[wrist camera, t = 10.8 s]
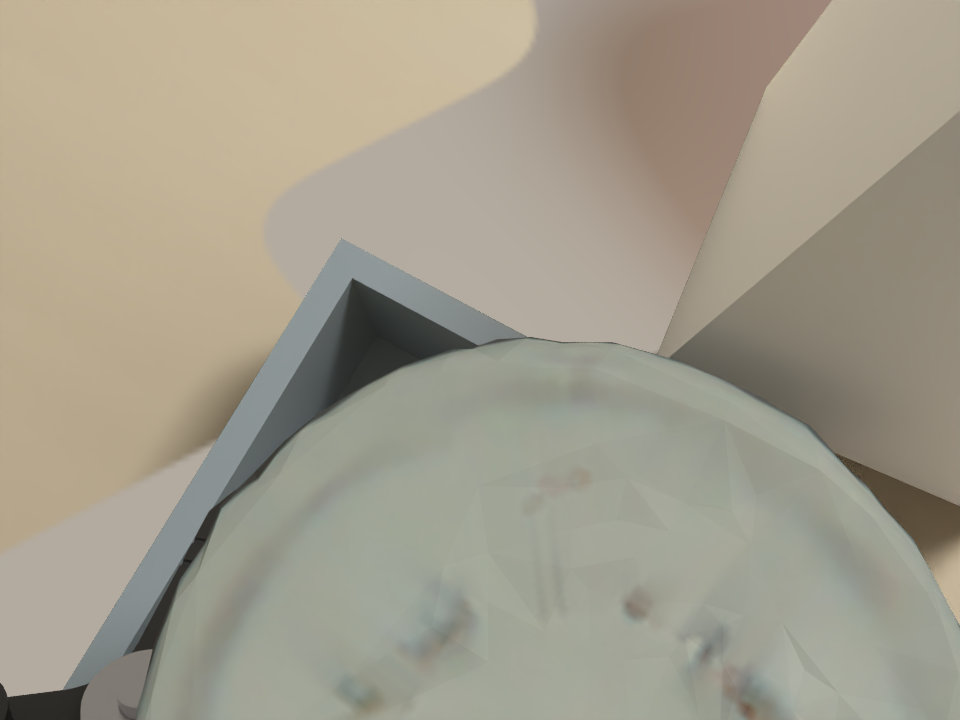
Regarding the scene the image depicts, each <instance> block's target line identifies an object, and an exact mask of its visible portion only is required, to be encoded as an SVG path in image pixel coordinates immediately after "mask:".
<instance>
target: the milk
mask: <svg viewBox="0 0 960 720" xmlns="http://www.w3.org/2000/svg"><path fill="white" fill-rule="evenodd" d="M657 355H660V356H664V357H667V358H671V359H674V360H678V361H681V362H683V363H686V364H688V365H690V366H693V367H695V368H697V369H700V370H702V371H704V372H707V373H709V374H711V375H713V376H716V377H718V378H720V379H723V380H725V381H727V382H729V383H732V384H734V385H736V386H738V387H740V388H743V389H745V390H747V391H749V392H752V393H754V394H756V395H758V396H759V397H761V398H762V399H764V400H766V401H767V402H769V403H771V404H772V405H774V406H776V407H777V408H779V409H780V410H782V411H784V412H786V413H788V414H790V415H791V416H793V417H795V418H797V419H799V420H800V421H802V422H804V423H806V424H808V425H810V426H811V427H812V428H813V429H814V431H815V432H816V433H817V434H818V435H819V436H820V438H821V439H822V440H823V441H824V442H825V443H826V444H827V446H828V447H829V448H830V449H831V450H832V451H833V452H834V453H836V454H839V455H841V456H843V457H846V458H848V459H850V460H853V461H855V462H857V463H860V464H862V465H864V466H867V467H869V468H871V469H874V470H876V471H879V472H881V473H883V474H886V475H888V476H890V477H893V478H895V479H897V480H900V481H902V482H904V483H907V484H909V485H911V486H914V487H916V488H918V489H921V490H923V491H925V492H928V493H930V494H932V495H935V496H937V497H939V498H942V499H944V500H946V501H949V502H951V503H953V504H956V505H958V506H960V0H832V1H831V3H830V4H829V5H828V7H827V8H826V10H825V11H824V12H823V13H822V15H821V16H820V17H819V19H818V20H817V21H816V23H815V24H814V25H813V27H812V28H811V29H810V31H809V32H808V33H807V35H806V36H805V37H804V39H803V40H802V41H801V42H800V44H799V45H798V46H797V48H796V49H795V50H794V52H793V53H792V54H791V56H790V57H789V58H788V60H787V61H786V62H785V64H784V65H783V66H782V68H781V69H780V70H779V72H778V73H777V74H776V76H775V77H774V78H773V80H772V81H771V82H770V83H769V85H768V86H767V87H766V89H765V91H764V94H763V96H762V99H761V101H760V104H759V106H758V109H757V111H756V113H755V116H754V118H753V121H752V123H751V126H750V128H749V131H748V133H747V136H746V138H745V140H744V143H743V145H742V148H741V150H740V153H739V155H738V158H737V160H736V163H735V165H734V167H733V170H732V172H731V175H730V177H729V180H728V182H727V185H726V187H725V190H724V192H723V195H722V197H721V200H720V202H719V204H718V207H717V209H716V212H715V214H714V217H713V219H712V222H711V224H710V226H709V229H708V231H707V234H706V236H705V239H704V241H703V244H702V246H701V248H700V251H699V253H698V256H697V259H696V261H695V263H694V266H693V268H692V271H691V273H690V275H689V278H688V280H687V283H686V285H685V288H684V290H683V293H682V295H681V298H680V300H679V303H678V305H677V307H676V310H675V313H674V315H673V317H672V320H671V322H670V325H669V327H668V329H667V332H666V334H665V337H664V339H663V342H662V344H661V347H660V349H659V352H658V354H657Z"/></svg>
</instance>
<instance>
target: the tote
mask: <svg viewBox="0 0 960 720" xmlns="http://www.w3.org/2000/svg"><path fill="white" fill-rule="evenodd" d="M524 337H526V336H524V335H523V334H521V333H519V332H517V331H515V330H513V329H511V328H509V327H507V326H505V325H504V324H502V323H500V322H498V321H496V320H494V319H492V318H491V317H489V316H487V315H485V314H483V313H481V312H479V311H477V310H475V309H474V308H472V307H470V306H468V305H466V304H464V303H462V302H460V301H459V300H457V299H455V298H453V297H451V296H449V295H447V294H445V293H443V292H441V291H440V290H438V289H436V288H434V287H432V286H430V285H428V284H426V283H425V282H423V281H421V280H419V279H417V278H415V277H413V276H411V275H409V274H408V273H406V272H404V271H402V270H400V269H398V268H396V267H394V266H393V265H390V264H389V263H387V262H385V261H383V260H381V259H379V258H378V257H376V256H374V255H372V254H370V253H368V252H366V251H364V250H362V249H361V248H359V247H357V246H355V245H353V244H351V243H349V242H347V241H345V240H344V239H342V238H341V240H340V242H339V243H338V245H337V246H336V248H335V250H334V251H333V253H332V255H331V256H330V258H329V259H328V261H327V263H326V265H325V266H324V268H323V269H322V271H321V272H320V274H319V276H318V277H317V279H316V281H315V282H314V284H313V285H312V287H311V289H310V290H309V292H308V293H307V295H306V297H305V298H304V300H303V302H302V303H301V305H300V306H299V308H298V310H297V311H296V313H295V315H294V316H293V318H292V319H291V321H290V323H289V324H288V326H287V327H286V329H285V331H284V332H283V334H282V336H281V337H280V339H279V340H278V342H277V344H276V345H275V347H274V349H273V350H272V352H271V353H270V355H269V357H268V358H267V360H266V361H265V363H264V365H263V366H262V368H261V370H260V371H259V373H258V374H257V376H256V378H255V379H254V381H253V383H252V384H251V386H250V387H249V389H248V391H247V392H246V394H245V396H244V397H243V399H242V400H241V402H240V404H239V405H238V407H237V408H236V410H235V412H234V413H233V415H232V417H231V418H230V420H229V421H228V423H227V425H226V426H225V428H224V430H223V431H222V433H221V434H220V436H219V438H218V439H217V441H216V442H215V444H214V446H213V447H212V449H211V451H210V452H209V454H208V455H207V457H206V459H205V460H204V462H203V464H202V465H201V467H200V468H199V470H198V472H197V473H196V475H195V477H194V478H193V480H192V481H191V483H190V485H189V486H188V488H187V490H186V491H185V493H184V494H183V496H182V498H181V499H180V501H179V503H178V504H177V506H176V507H175V509H174V511H173V512H172V514H171V515H170V517H169V519H168V520H167V522H166V523H165V525H164V527H163V528H162V530H161V532H160V533H159V535H158V536H157V538H156V540H155V542H154V543H153V545H152V546H151V548H150V549H149V551H148V553H147V554H146V556H145V558H144V559H143V561H142V563H141V564H140V566H139V567H138V569H137V570H136V572H135V574H134V576H133V577H132V579H131V580H130V582H129V583H128V585H127V587H126V588H125V590H124V592H123V593H122V595H121V596H120V598H119V600H118V601H117V603H116V604H115V606H114V608H113V609H112V611H111V613H110V614H109V616H108V617H107V619H106V621H105V622H104V624H103V626H102V627H101V629H100V630H99V632H98V634H97V635H96V637H95V638H94V640H93V642H92V644H91V645H90V647H89V648H88V650H87V652H86V653H85V655H84V657H83V658H82V660H81V661H80V663H79V664H78V666H77V668H76V670H75V671H74V673H73V674H72V676H71V678H70V679H69V681H68V682H67V684H66V686H65V687H64V689H63V690H66V689H71V688H76V687H79V686H82V685H86V684H88V683H90V682H91V680H92V679H93V678H94V677H95V675H97V674H98V673H99V672H100V671H101V670H102V669H103V668H104V667H106V666H107V665H108V664H110V663H111V662H113V661H115V660H116V659H118V658H120V657H123V656H125V655H127V654H130V653H132V652H133V650H134V648H135V647H136V645H137V644H138V642H139V640H140V638H141V636H142V635H143V633H144V631H145V629H146V627H147V625H148V623H149V622H150V620H151V618H152V616H153V614H154V612H155V610H156V609H157V607H158V605H159V603H160V601H161V599H162V597H163V596H164V594H165V592H166V590H167V588H168V586H169V584H170V582H171V581H172V579H173V577H174V575H175V573H176V571H177V569H178V568H179V566H180V565H182V563H183V558H184V556H185V555H186V553H187V551H188V549H189V547H190V545H191V543H194V540H195V536H196V534H197V532H198V530H199V529H200V527H201V525H202V523H203V521H204V519H205V517H206V516H207V514H208V512H209V511H210V510H211V509H212V508H213V507H214V506H216V505H217V504H218V503H219V502H221V501H222V500H223V499H224V498H226V497H227V496H228V495H229V494H231V493H232V492H233V491H234V490H237V489H238V488H239V487H240V486H241V485H242V484H243V483H244V482H245V481H246V480H247V479H248V478H249V477H250V476H251V475H252V474H253V473H254V472H255V471H256V470H257V469H258V468H259V467H260V466H261V465H262V464H263V463H264V462H265V461H266V460H267V459H268V458H269V457H270V456H271V454H272V453H273V452H274V451H275V450H276V449H277V448H278V447H279V446H280V445H281V444H282V443H283V442H284V441H285V440H286V439H287V438H289V437H290V436H291V435H292V434H294V433H295V432H296V431H297V430H298V429H300V428H301V427H302V426H303V425H305V424H306V423H307V422H308V421H309V420H311V419H312V418H313V417H314V416H316V415H317V414H318V413H320V412H321V411H323V410H325V409H326V408H328V407H330V406H331V405H333V404H335V403H336V402H338V401H340V400H341V399H343V398H345V397H346V396H348V395H350V394H351V393H353V392H355V391H356V390H358V389H360V388H362V387H363V386H365V385H367V384H369V383H371V382H373V381H375V380H377V379H379V378H381V377H383V376H384V375H386V374H388V373H390V372H392V371H394V370H396V369H398V368H400V367H402V366H405V365H408V364H411V363H414V362H417V361H420V360H423V359H425V358H428V357H431V356H434V355H437V354H440V353H443V352H446V351H449V350H452V349H469V348H472V347H475V346H478V345H481V344H484V343H487V342H490V341H493V340H496V339H509V338H524Z"/></svg>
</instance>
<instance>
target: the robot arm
mask: <svg viewBox="0 0 960 720" xmlns="http://www.w3.org/2000/svg"><path fill="white" fill-rule="evenodd" d="M235 491H236V490H234V491H233V492H232V493H231V494H233V493H234V492H235ZM231 494H229V495H228V496H227V497H226V498H224V499H223V500H222V501H221V502H219V503H218V504H217V505H216V506H214V507H213V508H212V509H211V510H210V511H209V512H208V514H207V516H206V517H205V519H204V521H203V523H202V525H201V527H200V529H199V530H198V532H197V534H196V536H195V540H194V543H191V545H190V547H189V549H188V551H187V553H186V555H185V556H184V558H183V563H182V565H180V566H179V568H178V569H177V571H176V573H175V575H174V577H173V579H172V581H171V582H170V584H169V586H168V588H167V590H166V592H165V594H164V596H163V597H162V599H161V601H160V603H159V605H158V607H157V609H156V610H155V612H154V614H153V616H152V618H151V620H150V622H149V623H148V625H147V627H146V629H145V631H144V633H143V635H142V636H141V638H140V640H139V642H138V644H137V645H136V647H135V648H134V650H133V652H132V653H130V654H127V655H125V656H123V657H120V658H118V659H116V660H115V661H113V662H111V663H110V664H108V665H107V666H106V667H104V668H103V669H102V670H101V671H100V672H99V673H98V674H97V675H95V677H94V678H93V679H92V680H91V682H90V683H88V684H86V685H82V686H79V687H76V688H71V689H66V690H61V691H53V692H45V693H37V694H29V695H21V696H13V697H7V694H6V691H5V689H4V687H3V686H2V684H1V683H0V720H136V714H137V707H138V704H139V701H140V697H141V694H142V691H143V688H144V684H145V679H146V675H147V671H148V667H149V663H150V658H151V654H152V650H153V646H154V643H155V641H156V638H157V636H158V633H159V631H160V628H161V626H162V623H163V621H164V618H165V616H166V613H167V611H168V608H169V605H170V603H171V600H172V598H173V595H174V593H175V590H176V588H177V585H178V583H179V580H180V579H181V577H182V576H183V574H184V573H185V571H186V570H187V568H188V567H189V565H190V564H191V562H192V561H193V559H194V558H195V556H196V555H197V553H198V552H199V550H200V549H201V547H202V546H203V544H204V543H205V541H206V539H207V536H208V534H209V531H210V528H211V526H212V523H213V520H214V518H215V515H216V513H217V510H218V507H219V506H220V505H221V504H222V503H223V502H224V501H225V500H226V499H227V498H228V497H229V496H230V495H231Z"/></svg>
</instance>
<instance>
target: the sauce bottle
mask: <svg viewBox="0 0 960 720" xmlns="http://www.w3.org/2000/svg"><path fill="white" fill-rule="evenodd" d="M136 720H960V625H959V623H958V622H957V620H956V618H955V616H954V614H953V612H952V610H951V609H950V607H949V605H948V603H947V601H946V599H945V597H944V595H943V594H942V592H941V590H940V588H939V586H938V584H937V582H936V580H935V578H934V576H933V574H932V573H931V571H930V569H929V567H928V565H927V563H926V562H925V560H924V558H923V556H922V554H921V553H920V551H919V549H918V547H917V545H916V544H915V542H914V540H913V538H912V537H911V536H910V535H909V534H908V533H907V532H906V531H905V530H904V528H903V527H902V526H901V525H900V524H899V523H898V522H897V521H896V520H895V519H894V518H893V516H892V515H891V514H890V513H889V512H888V511H887V510H886V508H885V507H884V506H883V505H882V503H881V502H880V501H879V500H878V499H877V497H876V496H875V495H874V494H873V493H872V491H871V490H870V489H869V488H868V486H867V485H866V484H865V483H864V482H863V481H861V480H860V479H859V478H858V477H857V476H856V475H855V474H854V473H853V472H852V471H851V470H850V469H849V468H847V467H846V466H845V465H844V464H843V463H842V462H841V461H840V459H839V458H838V457H837V456H836V455H835V454H834V453H833V451H832V450H831V449H830V448H829V447H828V446H827V444H826V443H825V442H824V441H823V440H822V439H821V438H820V436H819V435H818V434H817V433H816V432H815V431H814V429H813V428H812V427H811V426H810V425H808V424H806V423H804V422H802V421H800V420H799V419H797V418H795V417H793V416H791V415H790V414H788V413H786V412H784V411H782V410H780V409H779V408H777V407H776V406H774V405H772V404H771V403H769V402H767V401H766V400H764V399H762V398H761V397H759V396H758V395H756V394H754V393H752V392H749V391H747V390H745V389H743V388H740V387H738V386H736V385H734V384H732V383H729V382H727V381H725V380H723V379H720V378H718V377H716V376H713V375H711V374H709V373H707V372H704V371H702V370H700V369H697V368H695V367H693V366H690V365H688V364H686V363H683V362H681V361H678V360H674V359H671V358H667V357H664V356H660V355H656V354H653V353H649V352H646V351H642V350H638V349H635V348H631V347H627V346H624V345H620V344H617V343H612V342H611V343H610V342H604V343H603V342H597V343H596V342H557V341H551V340H545V339H539V338H533V337H524V338H509V339H496V340H493V341H490V342H487V343H484V344H481V345H478V346H475V347H472V348H469V349H452V350H449V351H446V352H443V353H440V354H437V355H434V356H431V357H428V358H425V359H423V360H420V361H417V362H414V363H411V364H408V365H405V366H402V367H400V368H398V369H396V370H394V371H392V372H390V373H388V374H386V375H384V376H383V377H381V378H379V379H377V380H375V381H373V382H371V383H369V384H367V385H365V386H363V387H362V388H360V389H358V390H356V391H355V392H353V393H351V394H350V395H348V396H346V397H345V398H343V399H341V400H340V401H338V402H336V403H335V404H333V405H331V406H330V407H328V408H326V409H325V410H323V411H321V412H320V413H318V414H317V415H316V416H314V417H313V418H312V419H311V420H309V421H308V422H307V423H306V424H305V425H303V426H302V427H301V428H300V429H298V430H297V431H296V432H295V433H294V434H292V435H291V436H290V437H289V438H287V439H286V440H285V441H284V442H283V443H282V444H281V445H280V446H279V447H278V448H277V449H276V450H275V451H274V452H273V453H272V454H271V456H270V457H269V458H268V459H267V460H266V461H265V462H264V463H263V464H262V465H261V466H260V467H259V468H258V469H257V470H256V471H255V472H254V473H253V474H252V475H251V476H250V477H249V478H248V479H247V480H246V481H245V482H244V483H243V484H242V485H241V486H240V487H239V488H238V489H237V490H236V491H235V492H234V493H233V494H231V495H230V496H229V497H228V498H227V499H226V500H225V501H224V502H223V503H222V504H221V505H220V506H219V507H218V510H217V513H216V515H215V518H214V520H213V523H212V526H211V528H210V531H209V534H208V536H207V539H206V541H205V543H204V544H203V546H202V547H201V549H200V550H199V552H198V553H197V555H196V556H195V558H194V559H193V561H192V562H191V564H190V565H189V567H188V568H187V570H186V571H185V573H184V574H183V576H182V577H181V579H180V580H179V583H178V585H177V588H176V590H175V593H174V595H173V598H172V600H171V603H170V605H169V608H168V611H167V613H166V616H165V618H164V621H163V623H162V626H161V628H160V631H159V633H158V636H157V638H156V641H155V643H154V646H153V650H152V654H151V658H150V663H149V667H148V671H147V675H146V679H145V684H144V688H143V691H142V694H141V697H140V701H139V704H138V707H137V714H136Z"/></svg>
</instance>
